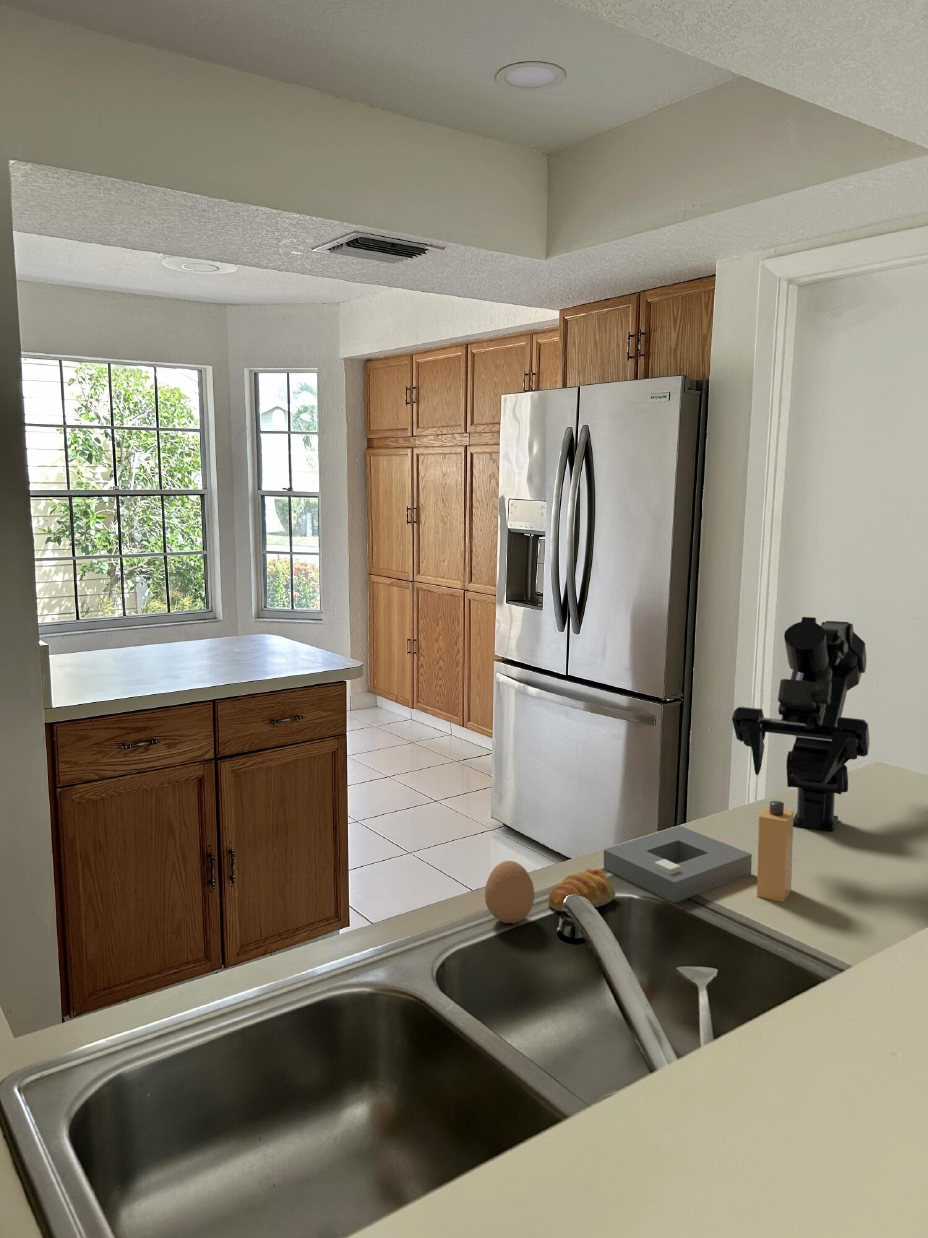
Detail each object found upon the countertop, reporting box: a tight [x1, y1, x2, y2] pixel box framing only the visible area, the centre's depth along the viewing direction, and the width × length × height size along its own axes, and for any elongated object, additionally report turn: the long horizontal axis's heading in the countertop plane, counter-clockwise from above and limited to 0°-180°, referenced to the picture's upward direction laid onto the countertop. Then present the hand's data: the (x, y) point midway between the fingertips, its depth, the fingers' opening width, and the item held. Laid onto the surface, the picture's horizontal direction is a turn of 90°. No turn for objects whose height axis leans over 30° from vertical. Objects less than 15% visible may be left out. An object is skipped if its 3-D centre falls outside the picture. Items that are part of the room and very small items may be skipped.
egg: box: [484, 860, 535, 924], centre depth 119 cm, size 6×6×8 cm
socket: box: [603, 825, 753, 904], centre depth 133 cm, size 16×14×4 cm
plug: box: [756, 800, 795, 903], centre depth 125 cm, size 4×4×13 cm
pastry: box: [548, 867, 616, 912], centre depth 125 cm, size 9×7×4 cm
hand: (789, 778), depth 130 cm, fingers open, 9 cm apart
